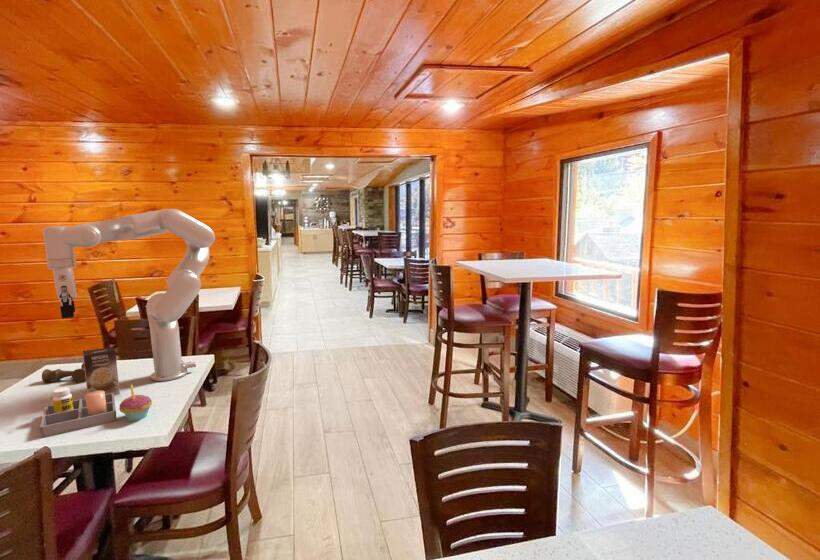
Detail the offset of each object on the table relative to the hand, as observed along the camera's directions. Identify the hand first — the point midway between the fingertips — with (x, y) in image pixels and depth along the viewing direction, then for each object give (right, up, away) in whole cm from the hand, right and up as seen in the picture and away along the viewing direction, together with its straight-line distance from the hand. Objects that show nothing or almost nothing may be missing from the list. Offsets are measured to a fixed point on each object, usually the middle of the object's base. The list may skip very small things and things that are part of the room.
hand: (68, 315), depth 157 cm
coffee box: (+9, -28, +4) cm, 30 cm away
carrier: (+14, -30, -14) cm, 36 cm away
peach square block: (+20, -30, -16) cm, 39 cm away
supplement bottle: (+8, -30, -13) cm, 34 cm away
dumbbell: (-13, -26, +21) cm, 36 cm away
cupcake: (+31, -30, -15) cm, 46 cm away
